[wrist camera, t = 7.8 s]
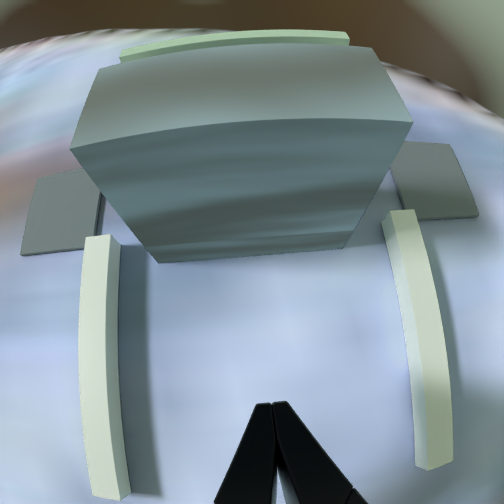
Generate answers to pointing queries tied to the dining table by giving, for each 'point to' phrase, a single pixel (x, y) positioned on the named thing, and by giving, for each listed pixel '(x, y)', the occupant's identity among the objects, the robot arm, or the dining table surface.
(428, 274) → the pale green open frame
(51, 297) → the dining table surface
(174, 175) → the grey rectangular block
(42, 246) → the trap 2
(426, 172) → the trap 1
